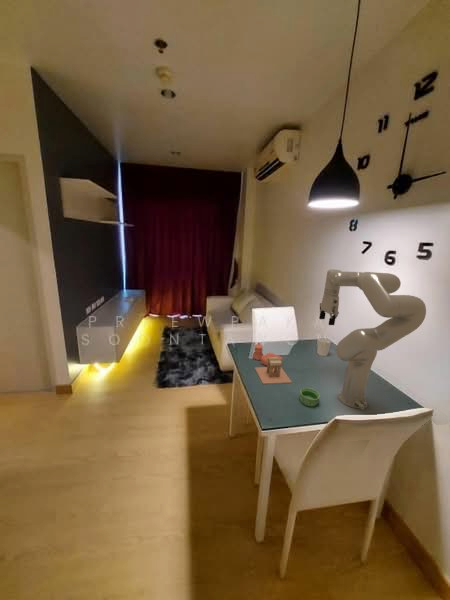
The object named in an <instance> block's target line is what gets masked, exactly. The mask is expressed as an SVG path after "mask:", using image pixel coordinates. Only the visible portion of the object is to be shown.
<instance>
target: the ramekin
mask: <svg viewBox="0 0 450 600" xmlns="http://www.w3.org/2000/svg"><path fill="white" fill-rule="evenodd" d="M320 398H321V395H320V393H319V392H318V391H317V390H315V389H314V388H310V387H303V388H301V389H300V391H299V401H300V402H301V403H302V404H303V405H304V406H307V407H315V406H317V405H318V404H319V399H320Z"/></svg>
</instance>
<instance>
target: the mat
mask: <svg viewBox="0 0 450 600" xmlns="http://www.w3.org/2000/svg"><path fill="white" fill-rule="evenodd" d="M254 369H255V371H256V374H257V375H258V378H259V380H260V382H261V384H262V385H277V384H278V385H279V384H280V385H282V384H292V383H293V381H292V380H291V379H290V377H289V376H288V375H287V373H286V372H285V370H284V368H283V367H281V369H280V377H277V373H274V369H273V372H272V377H269V373H267V366H264V367H263V366H261V367H260V366H259V367H257V366H256V367H254ZM277 369H278V366H277ZM269 372H270V371H269Z"/></svg>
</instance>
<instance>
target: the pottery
mask: <svg viewBox="0 0 450 600" xmlns="http://www.w3.org/2000/svg"><path fill="white" fill-rule="evenodd" d="M263 351H264V350H263V345H262V343H261V342H258V343H257V344H255V345H254V352H253V353H252V358H253V360H256V361H260V364H262V365H265V367H267V363H268V361H267V359H268V357H278V358H279V359H280V361H281V362H282V363H283V359H284V358H283V357H282V356H280V355H277V354H274V353H273V352H269V353H266V354H263ZM274 367H275V366H273V369H274Z"/></svg>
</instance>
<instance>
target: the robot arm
mask: <svg viewBox="0 0 450 600" xmlns="http://www.w3.org/2000/svg"><path fill="white" fill-rule="evenodd" d="M326 272H327V273H326V277H325V278H326V279H325V283H324V290H323V295H322V299H321V302H320V303H319V316H318V319H319V320H325V319H326V314H328V315H329V319H328V326H335V323H336V319H337V317H338V316H339V314H340V312H339V306H340V305H339V303H340V296H339V295H340V288H341V287H355V288H359V290H361V291H362V292H363V294H364V296H365V297H366V299H367V301H368V302H369V303H370V306H371V307H372V308H373V310H374V311H375V313H376V314H378V315H379V316H380V317H382V318H387V319H386V320H385V321H384V322H382V323H380V324H379V325H378V326H375V327H369V328H357V329H355V330H352V331H351V332H350V333H349V334H347V335H345V337H343V338H342V339H341V340H339V341H338V343H337V344H336V348H335V351H336V352H335V353H336V356H337V357H338V358H339V360H342V361H344V362H348V363H347V366H346V370H345V375H344V381H343V384H342V385H343V386H342V390H340V391H338V393H337V398H338V400H339V401H340V402H341V403H343V404H344V405H346V406H348V407H351V408H353V409H361V410H365V409H366V408H367V407H368V406H369V404H368V403H367V402H368V401H367V400H366V397H365V394H366V391H367V390H366V389H367V385H368V381H369V377H370V372H371V368H372V367H373V366H372V365H373V364H374V361H375V358H376V357H377V354H378V352H379V351H383V350H386V349H387V348H388V347H390V346H391V345H392V346H393V344H395V343H397V342H398V341H400V340H402V339H403V338H405V337H407V336H409V335H410V334H411V333H414V331H417V329H418V328H419V327H421V326H422V324H423V322H424V321H425V318H426V315H427V306H426V304H425V302H424V300H423V299H422V298H419V297H418V296H414V295H410V294H394V293H396V292H397V291H399V289H400V287H401V279H400V278H399V277H398V276H397V275H395V274H393V273H389V272H372V271H364V272H362V271H360V272H359V271H342V270H341V269H328V270H327V271H326Z"/></svg>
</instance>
